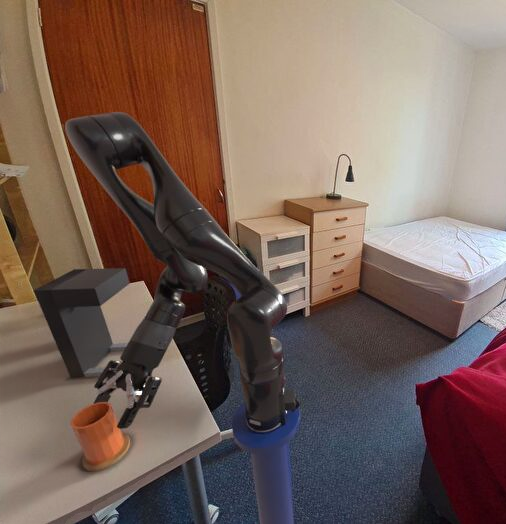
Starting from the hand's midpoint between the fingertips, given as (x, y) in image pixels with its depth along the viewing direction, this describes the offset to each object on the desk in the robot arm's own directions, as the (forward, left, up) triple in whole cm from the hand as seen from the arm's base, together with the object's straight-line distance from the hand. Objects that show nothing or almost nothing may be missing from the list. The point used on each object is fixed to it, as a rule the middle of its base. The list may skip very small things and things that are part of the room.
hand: (108, 420), depth 58 cm
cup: (+1, +1, -6) cm, 7 cm away
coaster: (+1, +2, -7) cm, 7 cm away
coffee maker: (+17, -28, -7) cm, 34 cm away
